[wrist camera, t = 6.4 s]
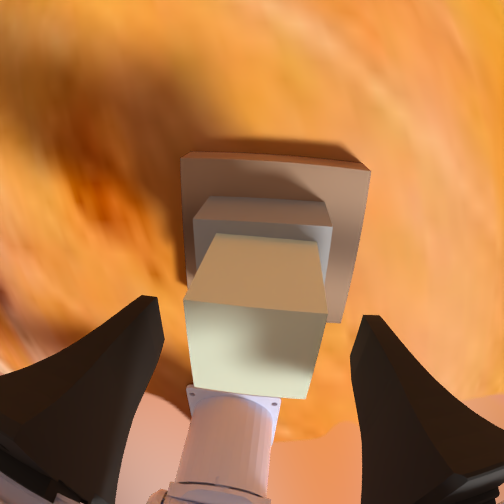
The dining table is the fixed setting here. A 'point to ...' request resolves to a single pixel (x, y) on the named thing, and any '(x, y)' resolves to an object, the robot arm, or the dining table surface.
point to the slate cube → (263, 222)
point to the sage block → (256, 316)
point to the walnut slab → (284, 187)
